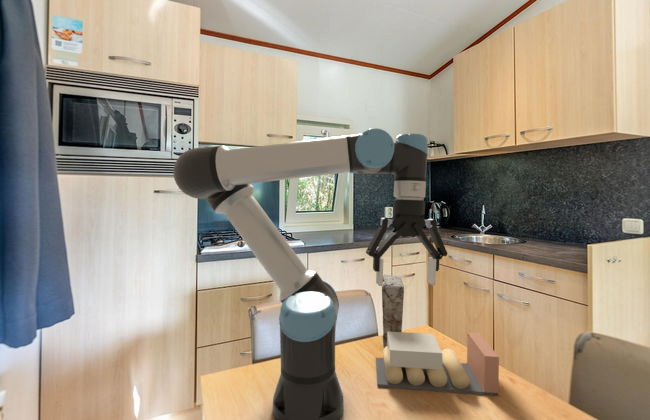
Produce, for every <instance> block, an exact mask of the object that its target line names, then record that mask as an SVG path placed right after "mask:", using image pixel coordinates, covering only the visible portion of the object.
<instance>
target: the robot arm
mask: <svg viewBox="0 0 650 420" xmlns="http://www.w3.org/2000/svg"><path fill="white" fill-rule="evenodd" d="M428 155H429V153H428V138H427V136H425V135H424V134H420V133H403V134H399V135H397V136H396V138H395V141H394V139H393V137H392V136H391V134H390V133H388V132H387V131H386V130H384V129H381V128H377V127H376V128H375V127H374V128H369V129H367V130H365V131H363V132H362V133H358V134H350V135H341V136H331V137H323V138H316V139H309V140H301V141H300V140H299V141H292V142H283V143H275V144H266V145H265V144H264V145H259V146H258V145H257V146H250V147H242V148H234V149H233V148H232V149H229V148H228V147H227V146H226V145H216V146H205V147H196V148H195V147H194V148H190V149H188V150H186V151H185V152H183V153H182V154H180V155H179V156H178V158H177V159H176V161H175V163H174V165H173V172H172V173H173V178H174V181H175V184H176V185H177V187H178V189H179V190H181V192H183V193H184V194H185V195H187V196H189V197H190V198H193V199H197V200H198V199H200V200H206V202H207V204H209V206H210V207H211V208H212V210H213V211H214V212H215V214H221V215H224V216H225V217H226V218H227V220H228V222H230V224H231V225H232V227H233V228H234V229H235V231H236V232H237V233H238V235H239V236H240V238H241V239H242V240H243V241H244V243H245V244H246V246H247V247H248V248H249V250H250V251H251V252H252V254H253V255H254V256H255V258H256V259H257V260H258V262H259V263H260V264H261V266H262V267H263V269H264V270H265V271H266V273H267V274H268V275H269V277H270V278H271V280H272V281H273V282H274V284H275V285H276V286H277V288H278V289H279V298H278V299H279V301H280V302H281V306H280V311H279V317H278V320H279V321H278V322H279V326H280V327H279V333H280V334H279V336H280V337H279V339H280V345H279V346H280V349H279V351H280V374H279V378H278V381H277V385H276V388H275V390H274V393H273V398H272V413H273V414H272V415H273V418H274V419H275V420H340V419H341V418H342V416H343V414H344V408H345V407H344V402H345V401H344V400H345V399H344V393H343V390H342V388H341V385H340V382H339V381H340V380H339V378H338V376H337V372H336V329H337V328H336V327H337V320H338V313H339V310H340V309H339V308H340V304H339V299H338V295H337V293H336V291H335V289H334V288H333V286H332V285H331V284H329V283H328V282H327V281H325V280H323V279H322V278H321V276H320V275H319V274H318V272H317V271H316V270H312V269H307V267H306V266H305V265H304V263H303V262H302V260H301V259H300V257H299V256H298V255H297V254H296V252H295V251H294V250H293V248H292V247H291V245H290V244H289V243H288V241H287V240H286V239H285V237H284V236H283V235H282V234H281V233H282V232H280V230H279V229H278V228H277V226H276V225H275V224H274V222H273V221H272V219H271V218H270V217H269V216H268V214H267V213H266V212H265V210H264V209H263V208H262V206H261V205H260V203H259V202H258V200H257V199H256V198H255V197H254V191H255V187H254V185H253V184H258V183H265V182H275V181H283V180H284V181H285V180H292V179H293V180H294V179H300V178H310V177H316V176H317V177H318V176H319V177H320V176H327V175H335V174H345V173H349V174H359V175H362V174H366V175H375V174H376V175H377V174H380V175H381V174H382V175H383V174H384V175H393V176H394V179H393V181H394V182H393V197H394V198H395V199H393V200H392V201H393V202H392V205H393V207H392V214H393V215H392V218H391V219H390V218H386V217H380V219H379V223H378V224H379V226H378V228H377V230H376V232H375V234H374V235H373V237H372V239H371V241H370V242H369V245H368V246H367V248H366V251H365V253H366V254H367V255H368V256H369V257H372V270H373V271H374V272H375V273H376V276H375V278H376V279H375V283H376V284H377V285H378V286H379V287H382V285H383V275H384V258H382V257H383V255H385V253H386V252H387V251H388V250H389V249H390V248H391V246H392V245H393V244H394V242H395V241H397V239H399V238H400V237H403V238H408V237H411V238H415V237H417V238H418V240H419V242H421V244H422V245H423V247H424V248H425V249H426V251H427V252H428V254H430V256H429V257H428V259H427V260H428V261H427V279H426V282H427V283H428V284H429V285H430V286H436V279H437V278H436V276H437V275H436V274H437V272H439V270H440V260H442V259H443V257H447V256H448V252H447V251H448V250H447V249H446V246H445V244H444V241H443V239H442V237H441V235H440V232H439V230H438V224H437V220H436V219H435V218H428V219H425V212H426V211H425V210H426V201H425V200H424V198H426V187H427V166H428ZM390 225H391V226H392V228H393V229H392V230H391V231H390V232H389V235H387V237H386V238H385V239H384V240H383V241H382V239H383V238H384V236H385V234H386V232H387V229H388V228H389V227H390ZM425 226H426V228H427V229H428V232H429V235H430V237H431V239H432V241H430V240H429V238H428V237H427V235H426V233H425V232H424V230H423V229H424V227H425ZM381 241H382V243H381ZM432 242H433V243H434V245H433V244H432ZM380 243H381V244H380Z"/></svg>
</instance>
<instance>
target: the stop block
mask: <svg viewBox="0 0 650 420" xmlns="http://www.w3.org/2000/svg"><path fill="white" fill-rule="evenodd" d="M466 342H467V344H466V345H467V346H466V363H467V364H468V366H469V368H470V369H471V371H472V373H473V374H474V376H475V378H476V379H477V381H478V383H479V384H480V386H481V388H482V389H483V391H484V392H490V393H491V394H492V395H491V396H494V395H493V393H497V394H498V395H497V396H499V380H500V379H499V377H500V376H499V373H500V371H499V369H500V357H499V355H498V354H497V352H495V350H494V349H493V348H492V346H491V345H490V344H489V343H488V342H487V341H486V339H485V338H484V337H483V335H482V334H481V333H480V332H467V337H466ZM484 396H489V395H488V394H487V395H485V393H484Z"/></svg>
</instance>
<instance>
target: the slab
mask: <svg viewBox="0 0 650 420" xmlns="http://www.w3.org/2000/svg"><path fill="white" fill-rule="evenodd" d="M387 348H388V356H389V363H390V366H393V367H408V368H423V369H438V370H442V349H441V347H440V344H439V343H438V341H437V339H436V337H435V335H434V333H426V332H425V333H424V332H422V333H421V332H406V331H405V332H387Z"/></svg>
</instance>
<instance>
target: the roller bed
mask: <svg viewBox="0 0 650 420" xmlns="http://www.w3.org/2000/svg"><path fill="white" fill-rule="evenodd" d="M441 351H442V370H438V369H423V368H408V367H393V366H390V363H389V356H388V348H387V346H386V347H385V348H384V347H383V352H382V353H383V357H375V367H376V368H375V369H376V384H377V385H376V386H377V387H379V388H391V389H392V388H394V389H405V390H417V391H418V390H419V391H430V392H432V391H433V392H444V393H445V392H446V393H457V394H458V393H459V394H469V395H470V394H471V395H472V394H473V395H474V394H475V395H484V393H485V395H484V396H497V395H498V396H499V393H498V394H497V393H493V395H492V394H491V393H490V392H484V391H483V389H482V388H481V386H480V384H479V383H478V381H477V379H476V378H475V376H474V374H473V373H472V371H471V369H470V368H469V366H468V364H467V362H461V361H460V359H459V357H458V356H457V353H456V352H455V351H454V350H453V349H451V348H444V349H441ZM487 394H488V395H487Z"/></svg>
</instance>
